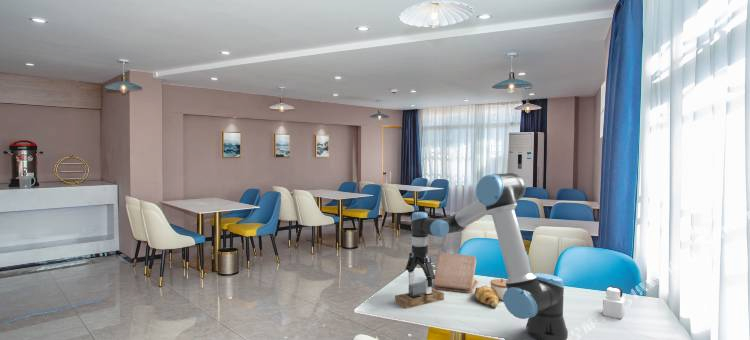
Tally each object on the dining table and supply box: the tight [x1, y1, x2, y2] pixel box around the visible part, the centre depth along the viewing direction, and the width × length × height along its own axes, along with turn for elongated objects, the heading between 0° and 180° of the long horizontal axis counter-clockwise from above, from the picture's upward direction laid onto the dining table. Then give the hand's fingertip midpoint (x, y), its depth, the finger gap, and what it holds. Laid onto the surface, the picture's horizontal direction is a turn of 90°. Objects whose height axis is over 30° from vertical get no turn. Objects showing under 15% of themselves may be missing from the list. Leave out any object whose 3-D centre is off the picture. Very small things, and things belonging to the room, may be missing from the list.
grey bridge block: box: [408, 280, 430, 298], centre depth 208 cm, size 10×4×8 cm, turn 120°
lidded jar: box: [490, 278, 507, 301], centre depth 210 cm, size 11×11×9 cm
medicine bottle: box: [602, 285, 626, 320], centre depth 189 cm, size 7×7×12 cm
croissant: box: [474, 285, 500, 308], centre depth 207 cm, size 21×10×8 cm, turn 11°
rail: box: [394, 287, 445, 309], centre depth 208 cm, size 22×9×3 cm, turn 120°
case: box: [432, 252, 479, 294], centre depth 230 cm, size 20×21×16 cm
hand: (420, 289), depth 207 cm, fingers open, 13 cm apart
